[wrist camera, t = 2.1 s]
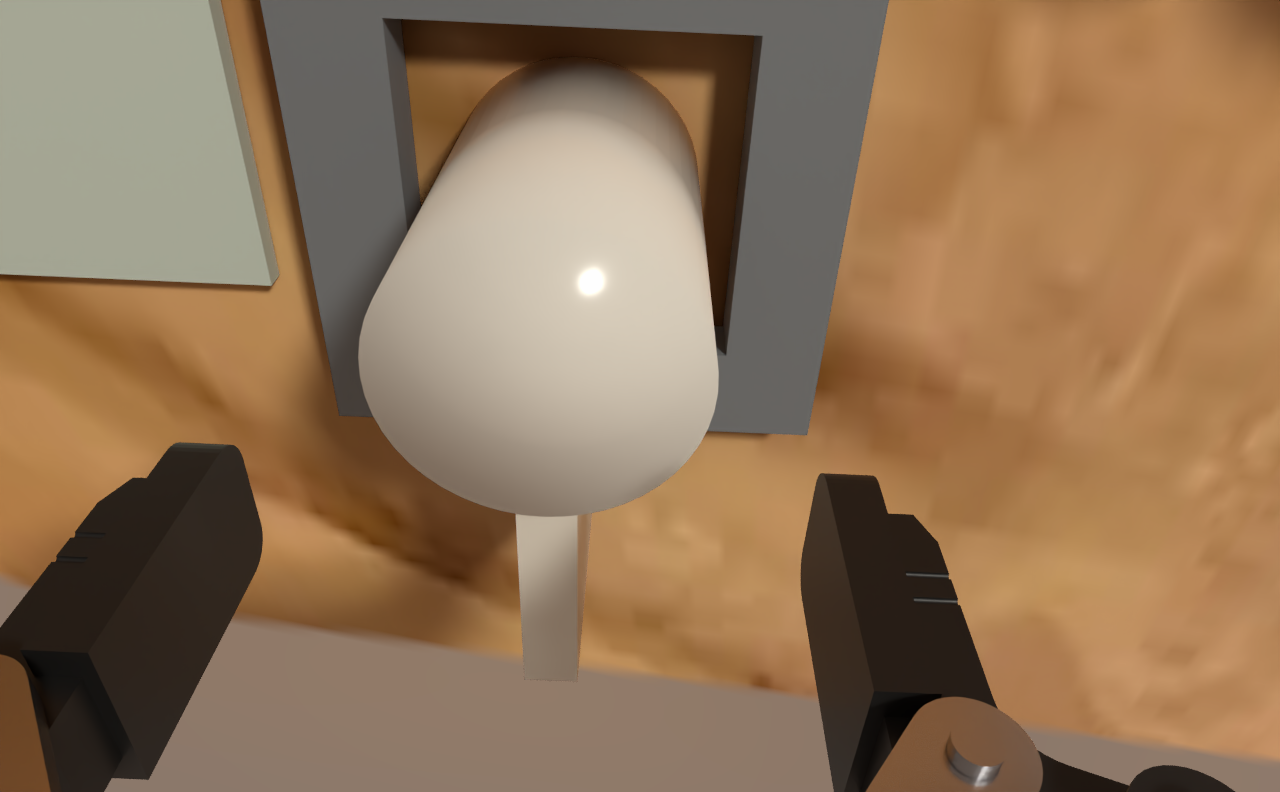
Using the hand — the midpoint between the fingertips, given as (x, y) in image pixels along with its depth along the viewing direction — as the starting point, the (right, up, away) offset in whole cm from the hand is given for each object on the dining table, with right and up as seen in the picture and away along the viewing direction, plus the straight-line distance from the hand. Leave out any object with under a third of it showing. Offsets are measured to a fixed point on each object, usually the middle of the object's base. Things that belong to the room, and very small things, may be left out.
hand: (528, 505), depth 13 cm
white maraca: (0, +5, +11) cm, 12 cm away
